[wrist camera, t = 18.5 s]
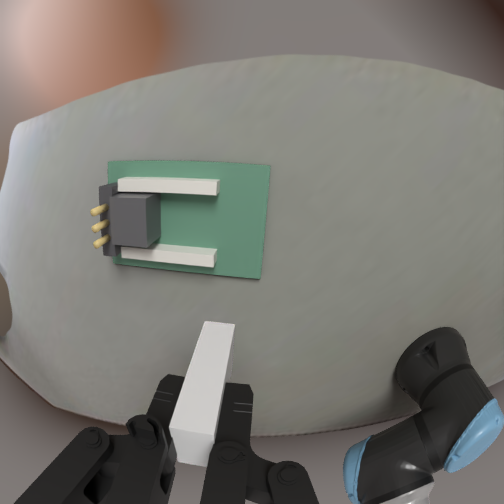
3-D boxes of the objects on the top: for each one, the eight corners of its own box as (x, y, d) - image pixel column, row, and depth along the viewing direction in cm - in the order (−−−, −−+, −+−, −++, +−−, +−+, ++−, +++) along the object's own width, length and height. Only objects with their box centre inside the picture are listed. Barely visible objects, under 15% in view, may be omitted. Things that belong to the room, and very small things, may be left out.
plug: (161, 235, 38) (147, 247, 33) (127, 232, 38) (110, 244, 33) (160, 191, 36) (145, 198, 31) (126, 190, 36) (108, 197, 31)
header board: (260, 277, 40) (258, 305, 33) (115, 261, 40) (89, 283, 33) (270, 165, 34) (270, 170, 27) (110, 161, 35) (78, 166, 28)
